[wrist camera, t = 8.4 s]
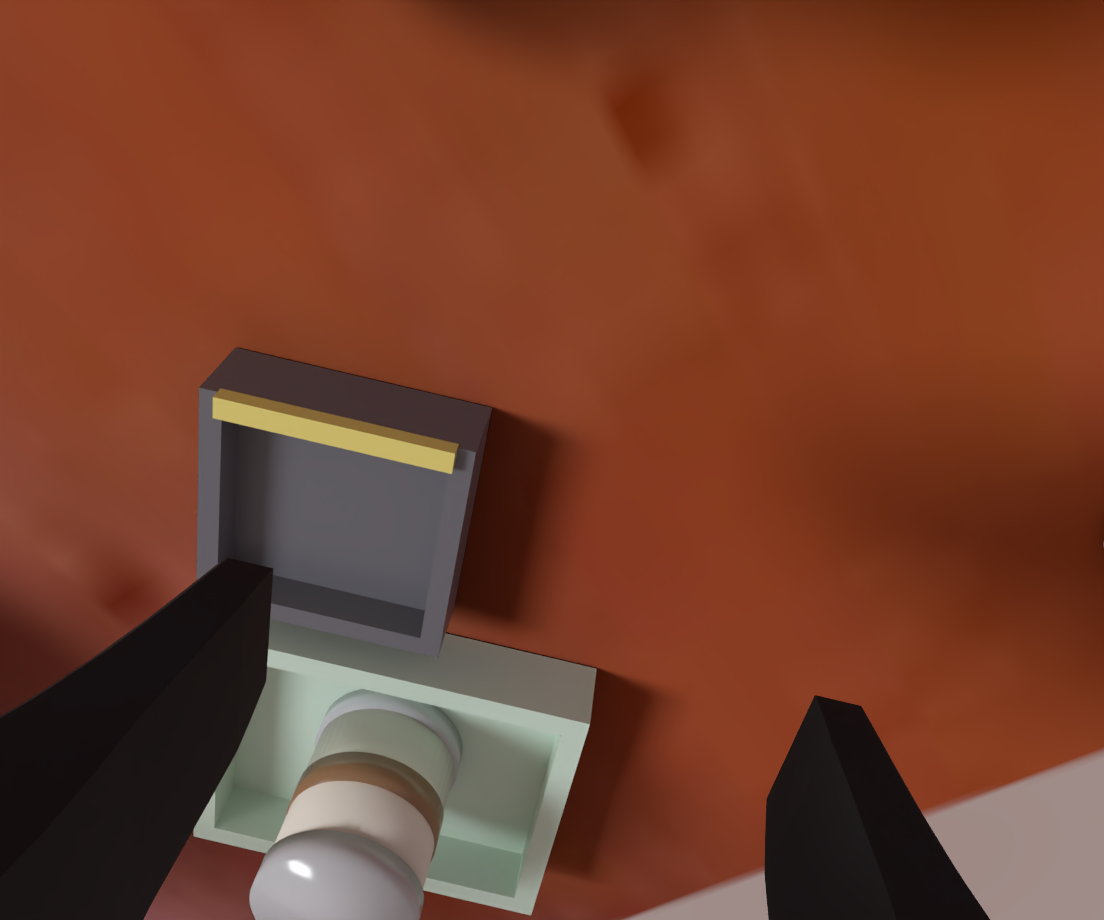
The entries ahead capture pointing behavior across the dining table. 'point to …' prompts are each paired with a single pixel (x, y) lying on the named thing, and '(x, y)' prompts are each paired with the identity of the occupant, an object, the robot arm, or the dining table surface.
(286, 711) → the parts tray
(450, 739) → the fuse
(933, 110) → the dining table surface
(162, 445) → the dining table surface
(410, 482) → the grey square holder
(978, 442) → the dining table surface
